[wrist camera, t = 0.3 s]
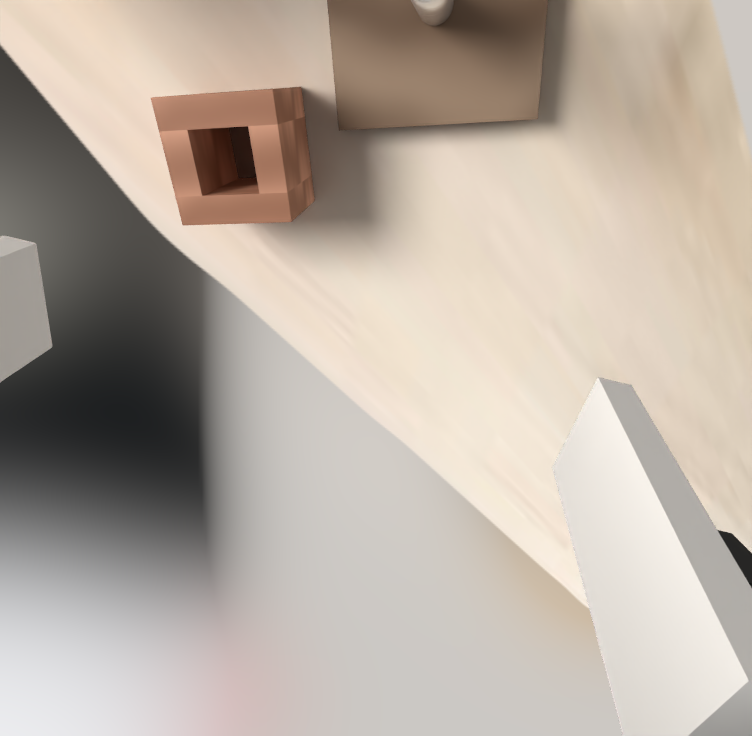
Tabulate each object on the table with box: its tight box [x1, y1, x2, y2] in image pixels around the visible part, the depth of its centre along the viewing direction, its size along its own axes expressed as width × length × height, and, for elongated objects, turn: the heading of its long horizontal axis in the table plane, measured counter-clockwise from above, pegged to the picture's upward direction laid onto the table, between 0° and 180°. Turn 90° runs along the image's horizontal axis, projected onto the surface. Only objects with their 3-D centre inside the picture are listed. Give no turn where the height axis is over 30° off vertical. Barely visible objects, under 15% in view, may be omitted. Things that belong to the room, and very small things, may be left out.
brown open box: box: [151, 87, 315, 225], centre depth 31 cm, size 7×7×6 cm
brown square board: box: [327, 0, 548, 130], centre depth 28 cm, size 12×12×2 cm
